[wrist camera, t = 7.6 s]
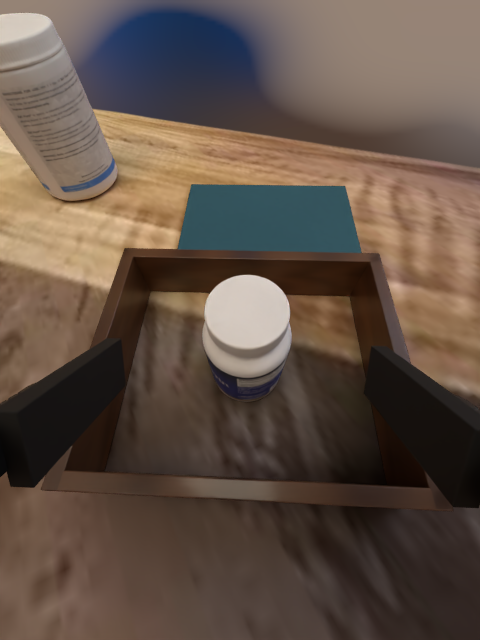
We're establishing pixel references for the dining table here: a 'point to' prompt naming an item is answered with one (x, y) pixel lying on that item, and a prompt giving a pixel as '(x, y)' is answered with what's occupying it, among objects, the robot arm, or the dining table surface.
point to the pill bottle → (246, 336)
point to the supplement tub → (50, 110)
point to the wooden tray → (292, 278)
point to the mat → (269, 219)
